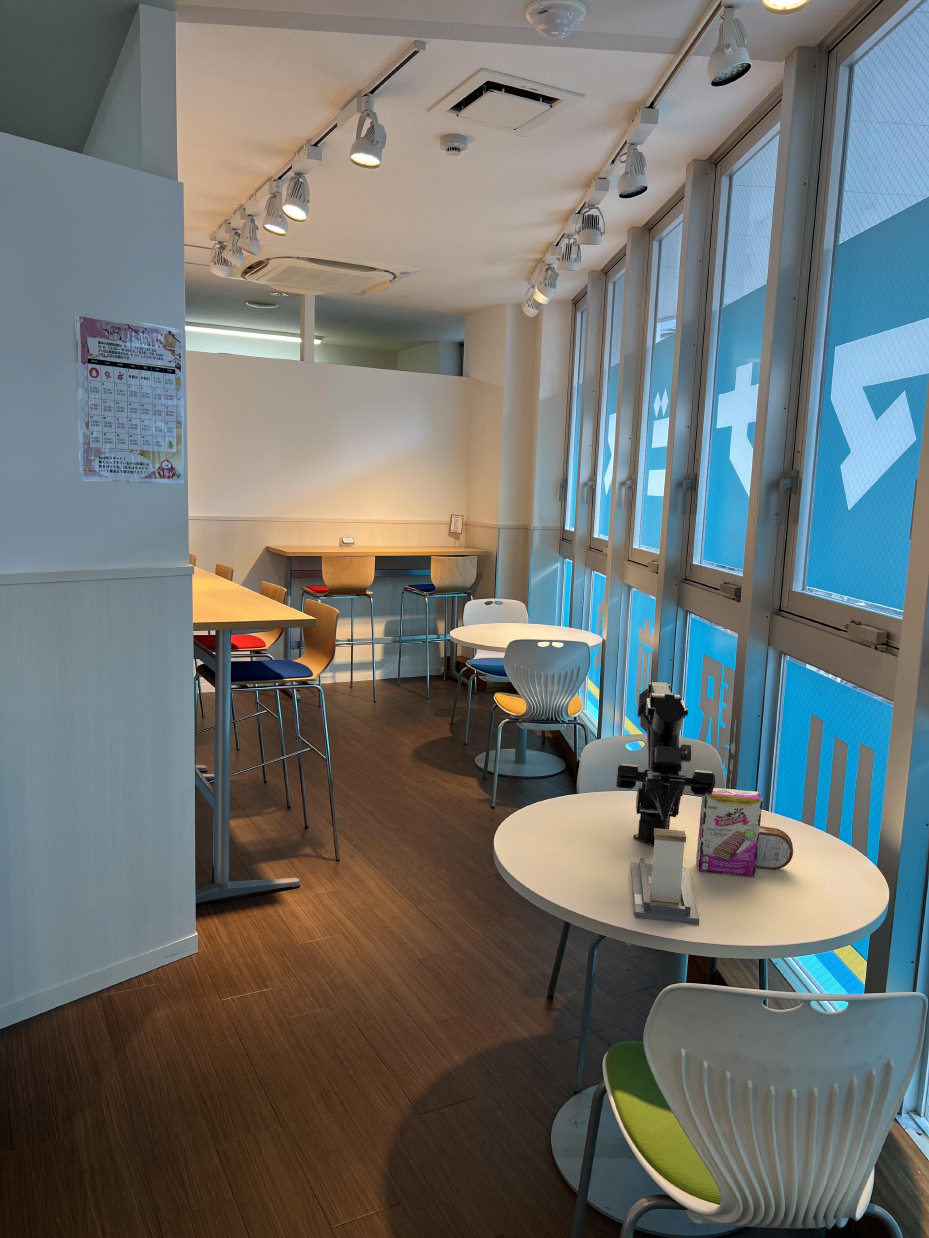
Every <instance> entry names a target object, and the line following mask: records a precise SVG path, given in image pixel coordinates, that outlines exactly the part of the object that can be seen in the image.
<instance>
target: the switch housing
mask: <svg viewBox="0 0 929 1238" xmlns="http://www.w3.org/2000/svg"><path fill="white" fill-rule="evenodd" d="M645 860H646V858H645V857H638V862H636V861H635V862H634V861H631V862H630V874H631V876H630V877H631V885H632V886H631V887H632V898H633V913H634V918H640V919H649V920H656V921H657V920H658V921H666V922H675V923H682V924H683V923H685V924H693V925H694V924H695V925H700V916H699V915H700V914H699V911H698V907H697V904H696V899H695V896H694V894H695V893H694V891H693V886H692V882H691V879H690V875H689V869H688V867H686V866H683V869H682V882H681V895H680V903H673V902H664V901H655V900H651V883H652V869H653V863H646V861H645Z"/></svg>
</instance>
